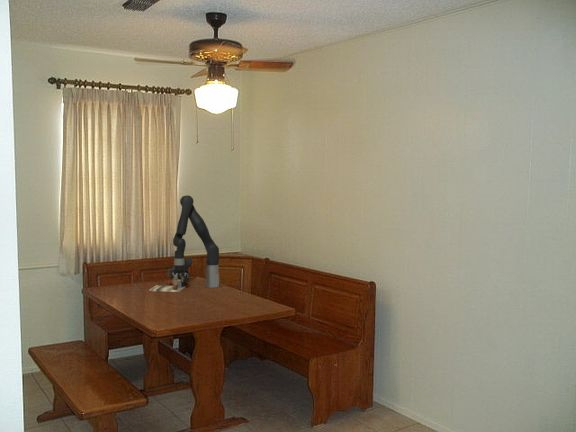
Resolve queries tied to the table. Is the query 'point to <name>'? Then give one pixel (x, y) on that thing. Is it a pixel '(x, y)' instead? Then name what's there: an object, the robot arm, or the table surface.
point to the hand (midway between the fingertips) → (179, 286)
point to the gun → (187, 264)
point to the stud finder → (179, 283)
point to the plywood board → (166, 288)
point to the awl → (174, 283)
